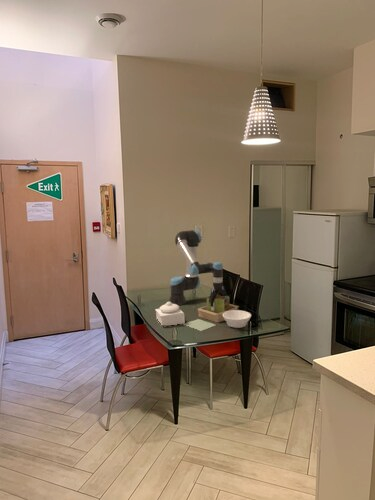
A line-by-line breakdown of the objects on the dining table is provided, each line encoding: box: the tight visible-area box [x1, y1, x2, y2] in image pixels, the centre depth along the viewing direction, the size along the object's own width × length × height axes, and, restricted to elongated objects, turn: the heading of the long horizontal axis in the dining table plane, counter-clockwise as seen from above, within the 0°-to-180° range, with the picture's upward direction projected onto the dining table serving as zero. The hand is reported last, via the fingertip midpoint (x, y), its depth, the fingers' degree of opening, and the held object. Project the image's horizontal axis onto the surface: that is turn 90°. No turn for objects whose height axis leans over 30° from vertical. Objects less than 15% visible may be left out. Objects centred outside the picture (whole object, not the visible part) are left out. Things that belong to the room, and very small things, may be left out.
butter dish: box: [154, 301, 186, 326], centre depth 286 cm, size 18×18×16 cm
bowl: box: [223, 309, 252, 329], centre depth 277 cm, size 21×21×8 cm
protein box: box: [206, 294, 230, 314], centre depth 298 cm, size 10×15×16 cm
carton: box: [196, 303, 240, 323], centre depth 298 cm, size 21×28×6 cm
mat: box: [182, 318, 217, 332], centre depth 279 cm, size 19×16×1 cm
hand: (218, 308), depth 298 cm, fingers closed on protein box, 12 cm apart
